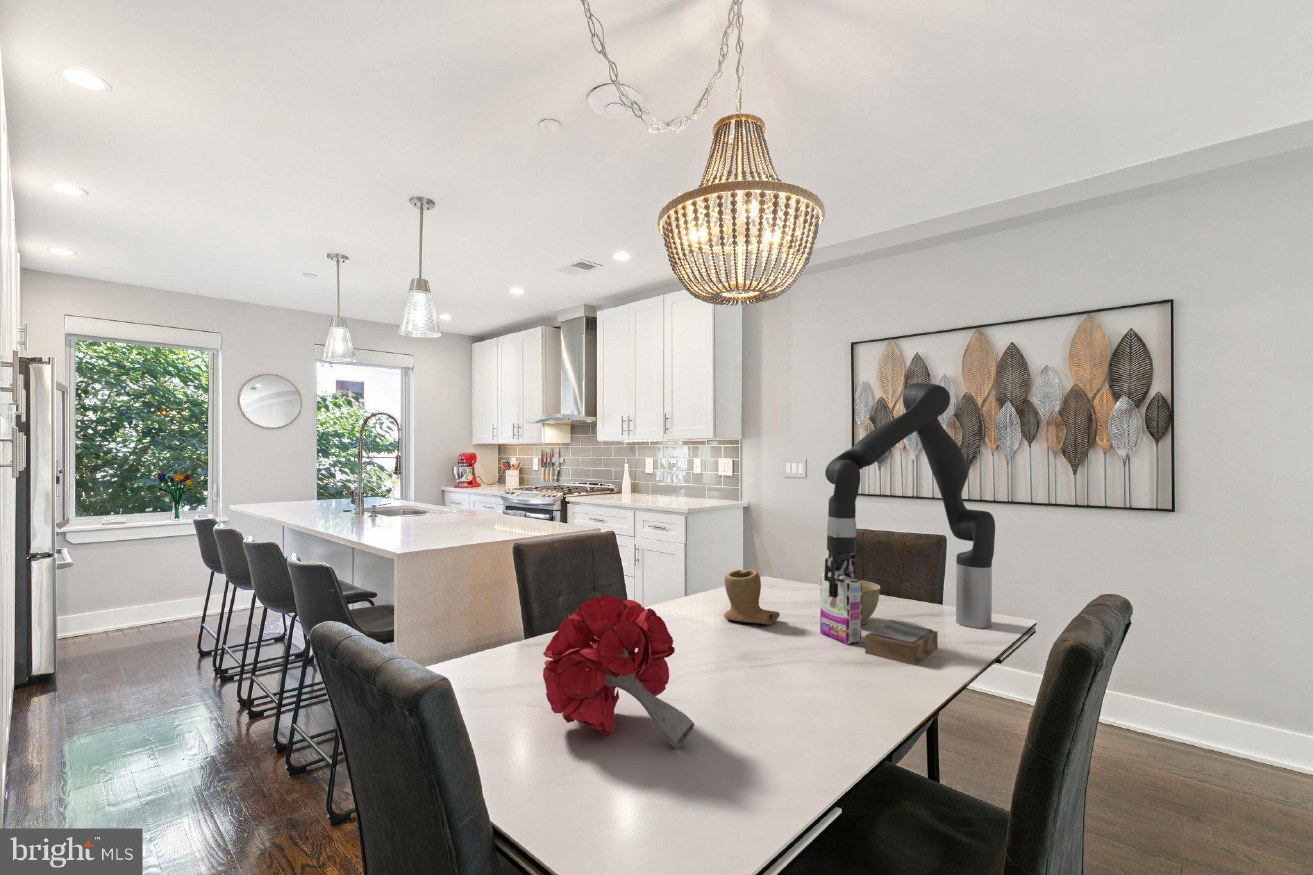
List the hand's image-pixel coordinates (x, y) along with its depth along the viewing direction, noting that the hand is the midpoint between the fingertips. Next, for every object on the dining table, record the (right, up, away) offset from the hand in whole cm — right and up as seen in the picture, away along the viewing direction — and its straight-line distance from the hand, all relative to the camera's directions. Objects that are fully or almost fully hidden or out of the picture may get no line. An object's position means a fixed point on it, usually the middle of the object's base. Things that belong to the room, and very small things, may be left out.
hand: (840, 594), depth 164 cm
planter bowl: (+8, -12, +16) cm, 22 cm away
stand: (+12, -12, -10) cm, 20 cm away
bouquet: (-56, -11, -54) cm, 79 cm away
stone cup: (-23, -12, +14) cm, 29 cm away
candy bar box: (0, -12, 0) cm, 12 cm away
